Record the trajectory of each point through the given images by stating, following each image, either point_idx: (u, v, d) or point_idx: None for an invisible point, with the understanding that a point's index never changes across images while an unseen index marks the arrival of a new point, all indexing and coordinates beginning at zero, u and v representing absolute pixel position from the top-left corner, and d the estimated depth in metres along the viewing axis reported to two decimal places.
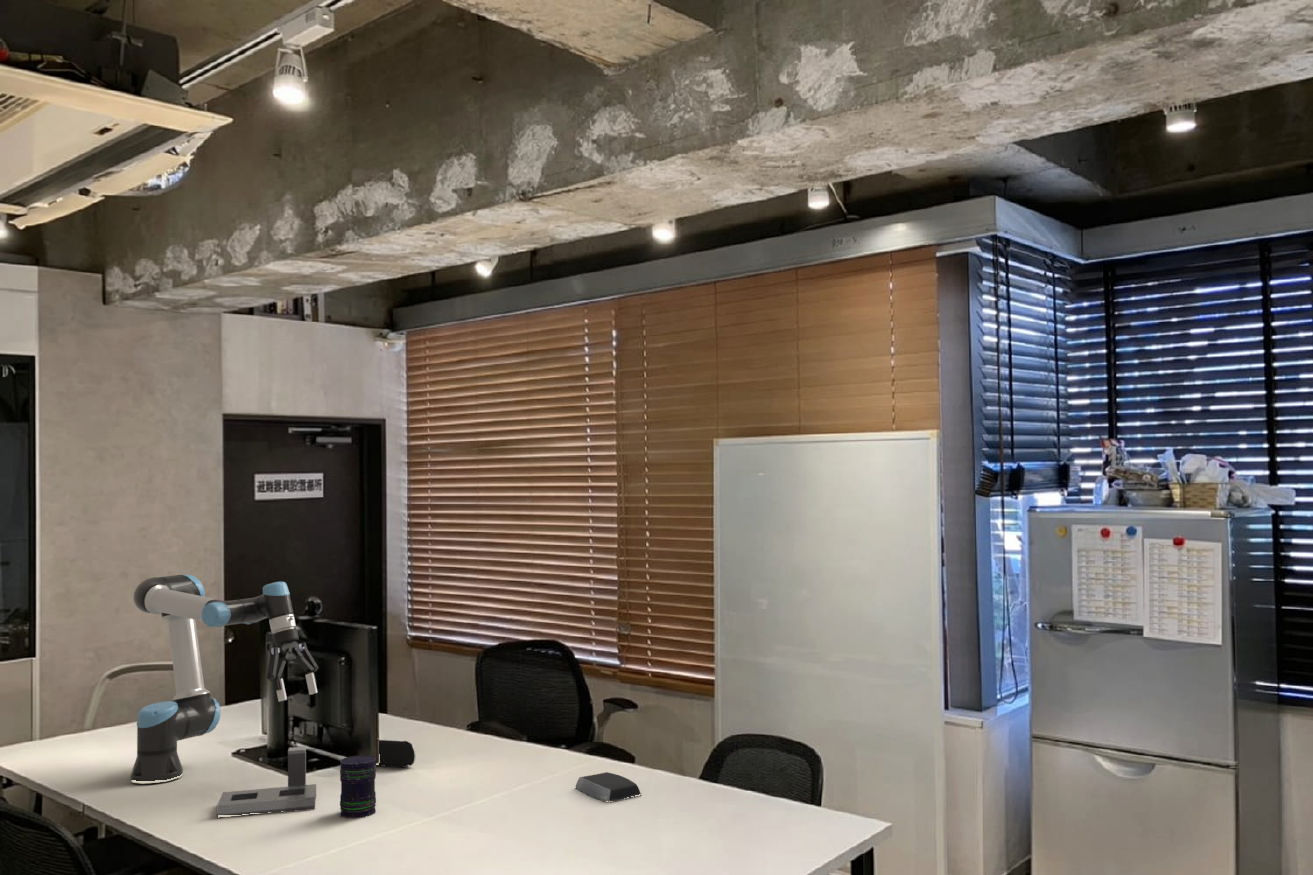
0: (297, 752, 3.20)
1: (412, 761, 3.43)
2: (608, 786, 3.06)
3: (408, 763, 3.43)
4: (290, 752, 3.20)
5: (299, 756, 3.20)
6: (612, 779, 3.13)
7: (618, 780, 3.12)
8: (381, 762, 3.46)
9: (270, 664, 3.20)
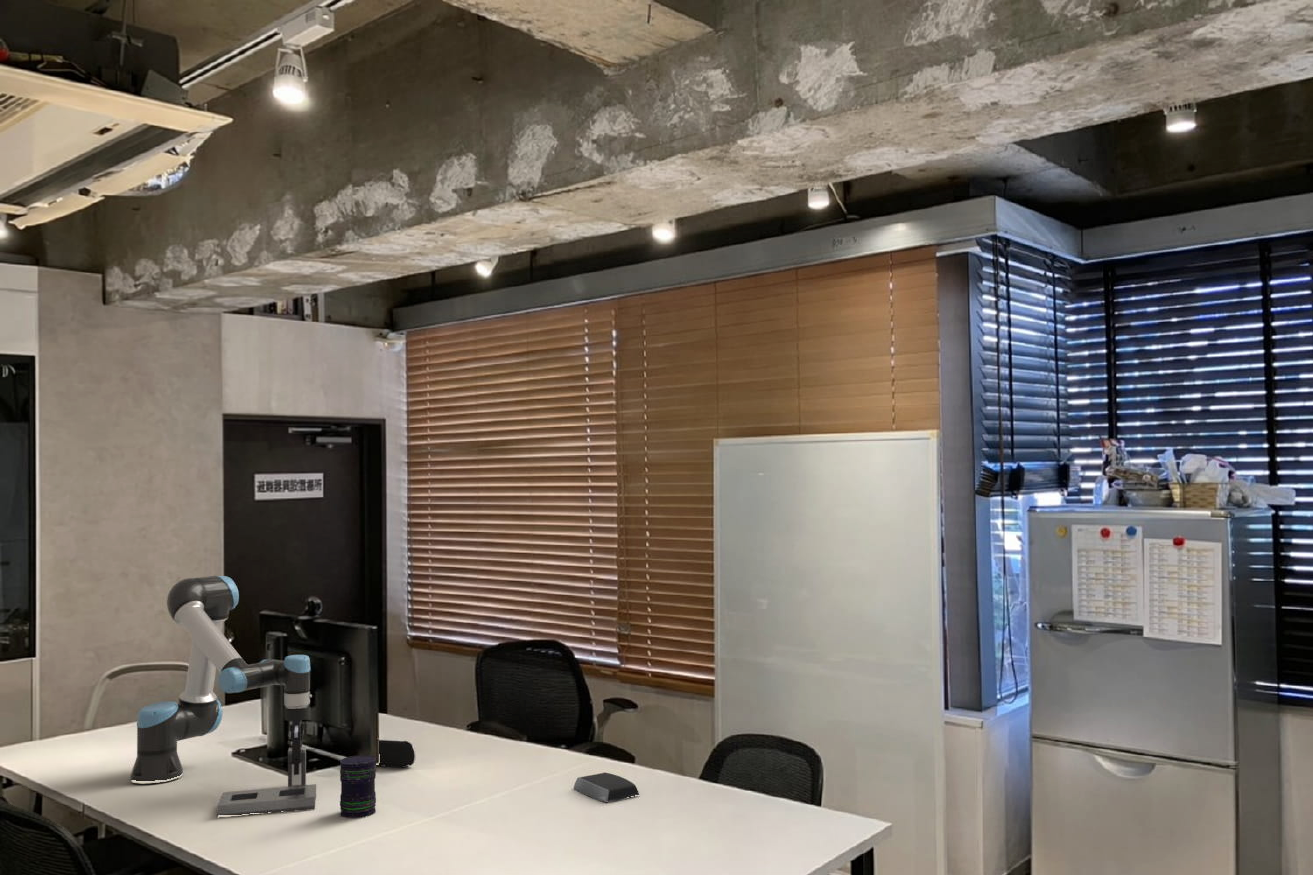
0: None
1: (412, 761, 3.43)
2: (607, 786, 3.05)
3: (408, 763, 3.43)
4: (290, 752, 3.20)
5: None
6: (610, 779, 3.13)
7: (616, 780, 3.12)
8: (381, 762, 3.46)
9: (294, 748, 3.17)
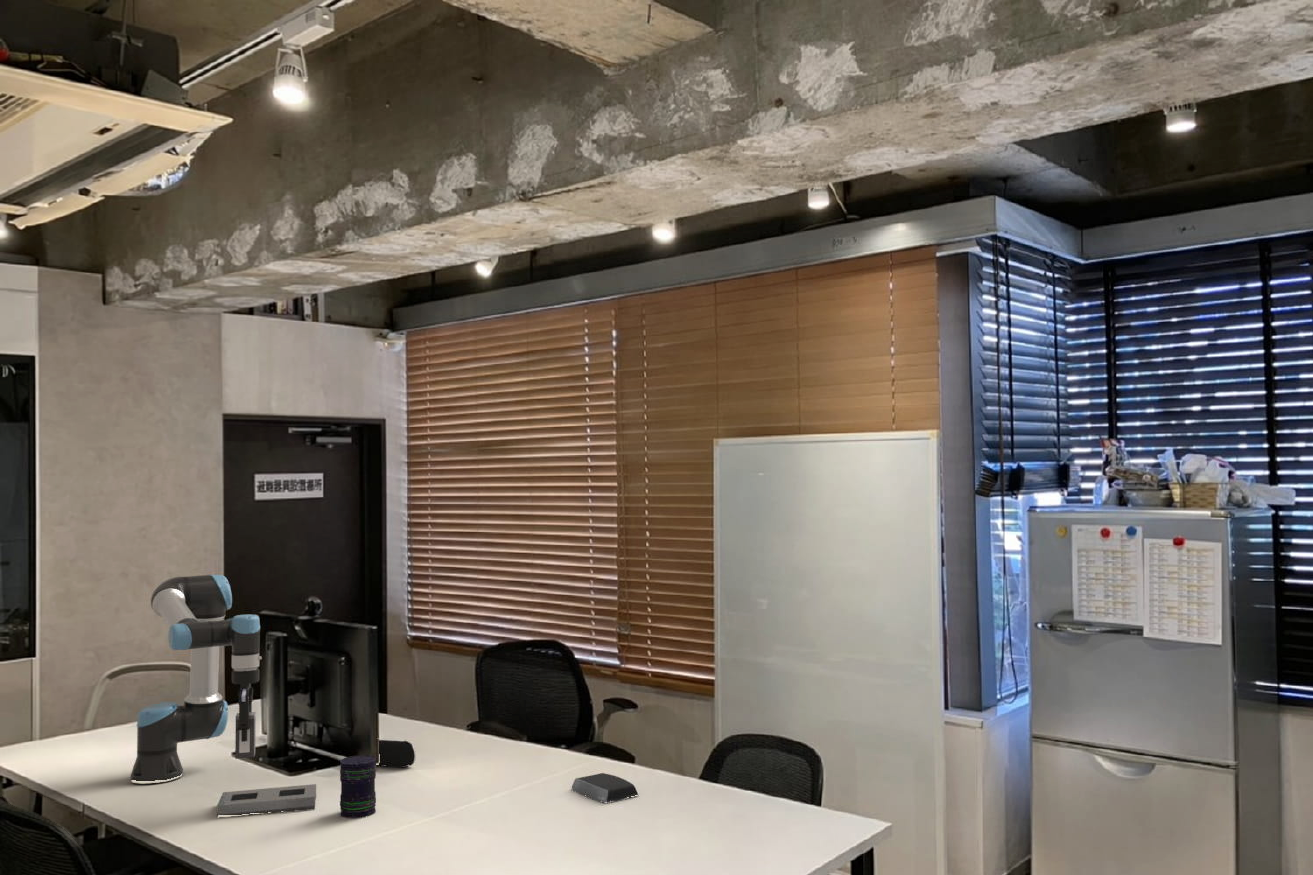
0: None
1: (412, 761, 3.43)
2: (606, 786, 3.05)
3: (408, 763, 3.43)
4: (238, 717, 3.00)
5: None
6: (609, 780, 3.12)
7: (615, 781, 3.11)
8: (381, 762, 3.46)
9: (242, 713, 2.97)
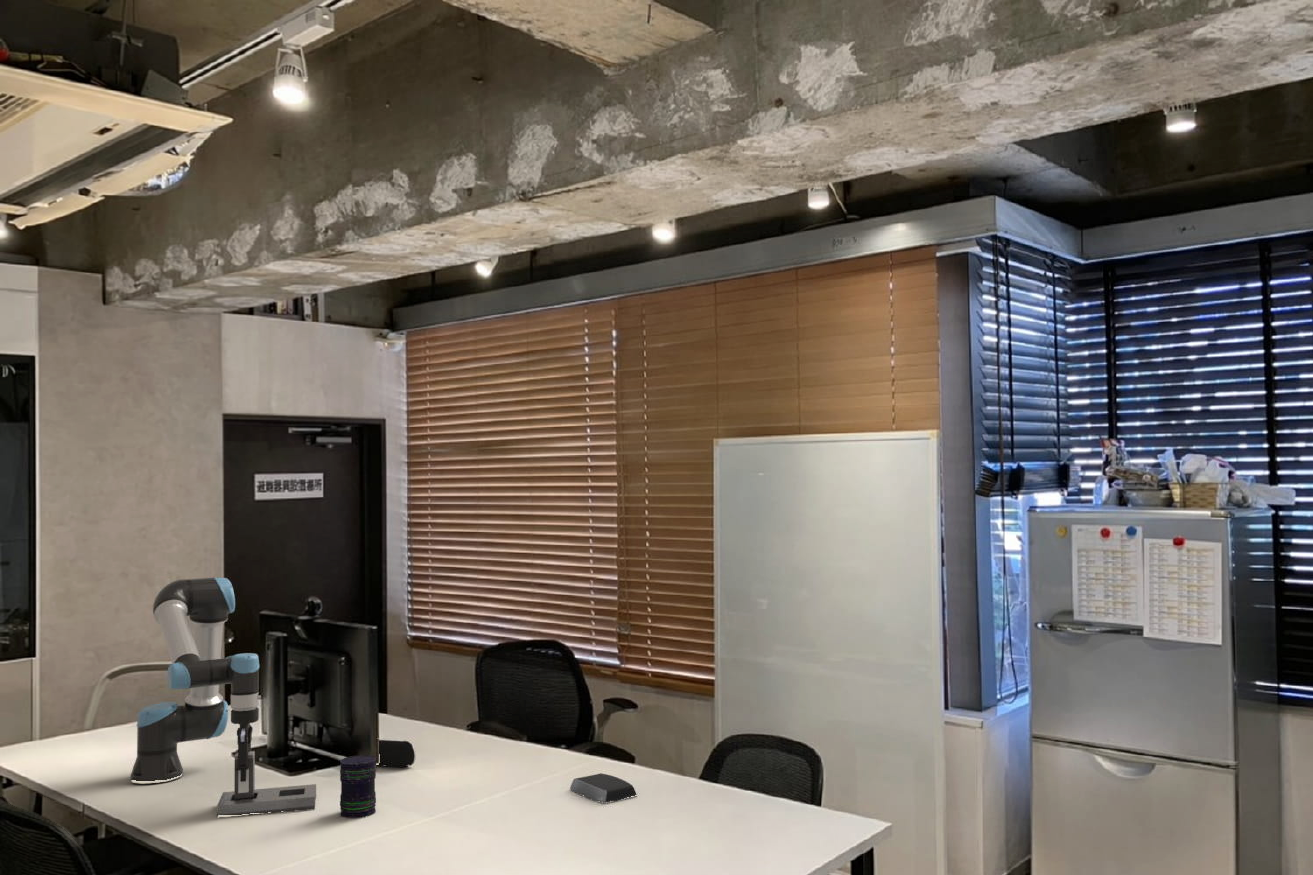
0: None
1: (412, 761, 3.43)
2: (604, 787, 3.05)
3: (408, 763, 3.43)
4: (237, 757, 2.99)
5: None
6: (607, 780, 3.12)
7: (613, 781, 3.11)
8: (381, 762, 3.46)
9: (240, 753, 2.96)
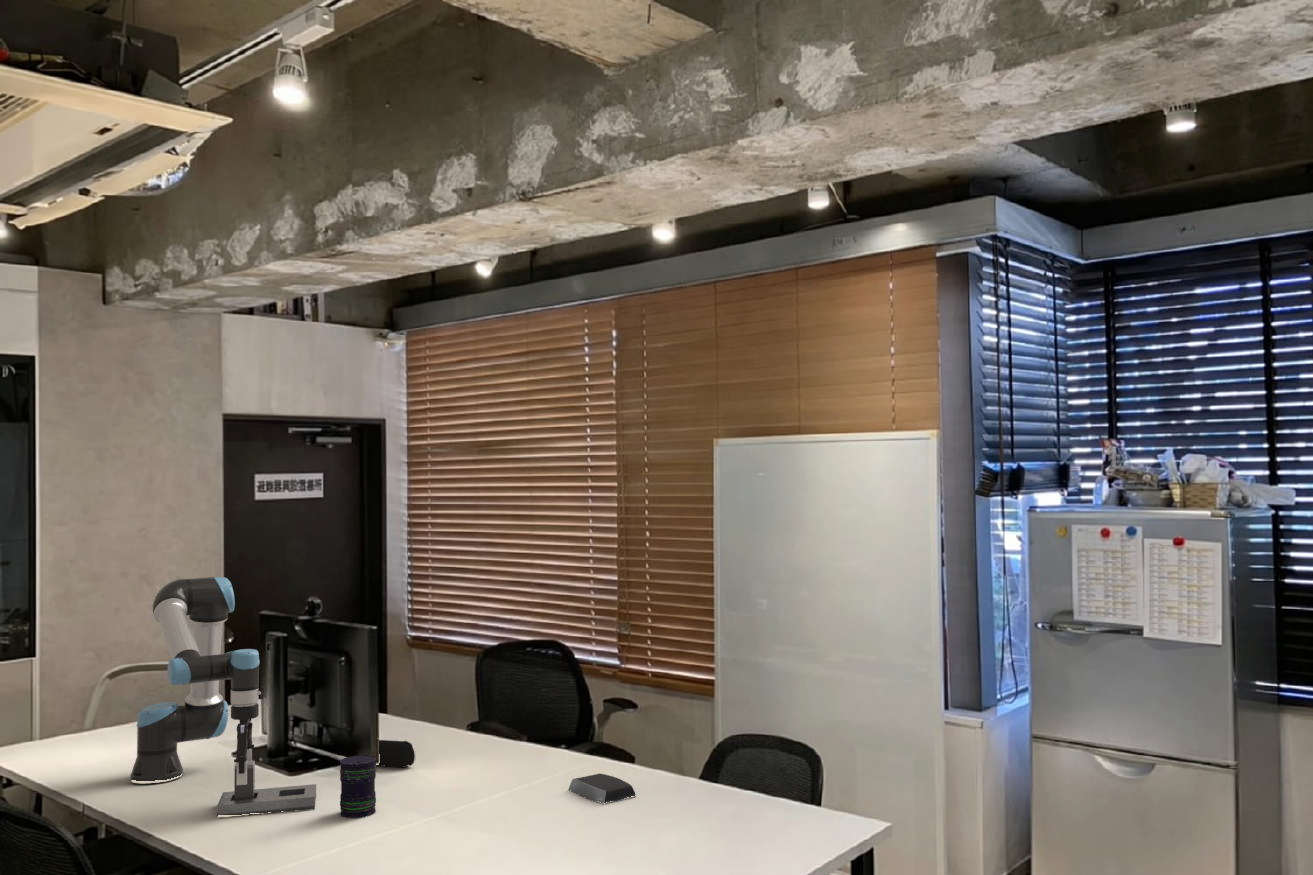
0: None
1: (412, 761, 3.43)
2: (603, 787, 3.05)
3: (408, 763, 3.43)
4: None
5: None
6: (606, 780, 3.12)
7: (612, 781, 3.11)
8: (381, 762, 3.46)
9: (240, 744, 2.94)
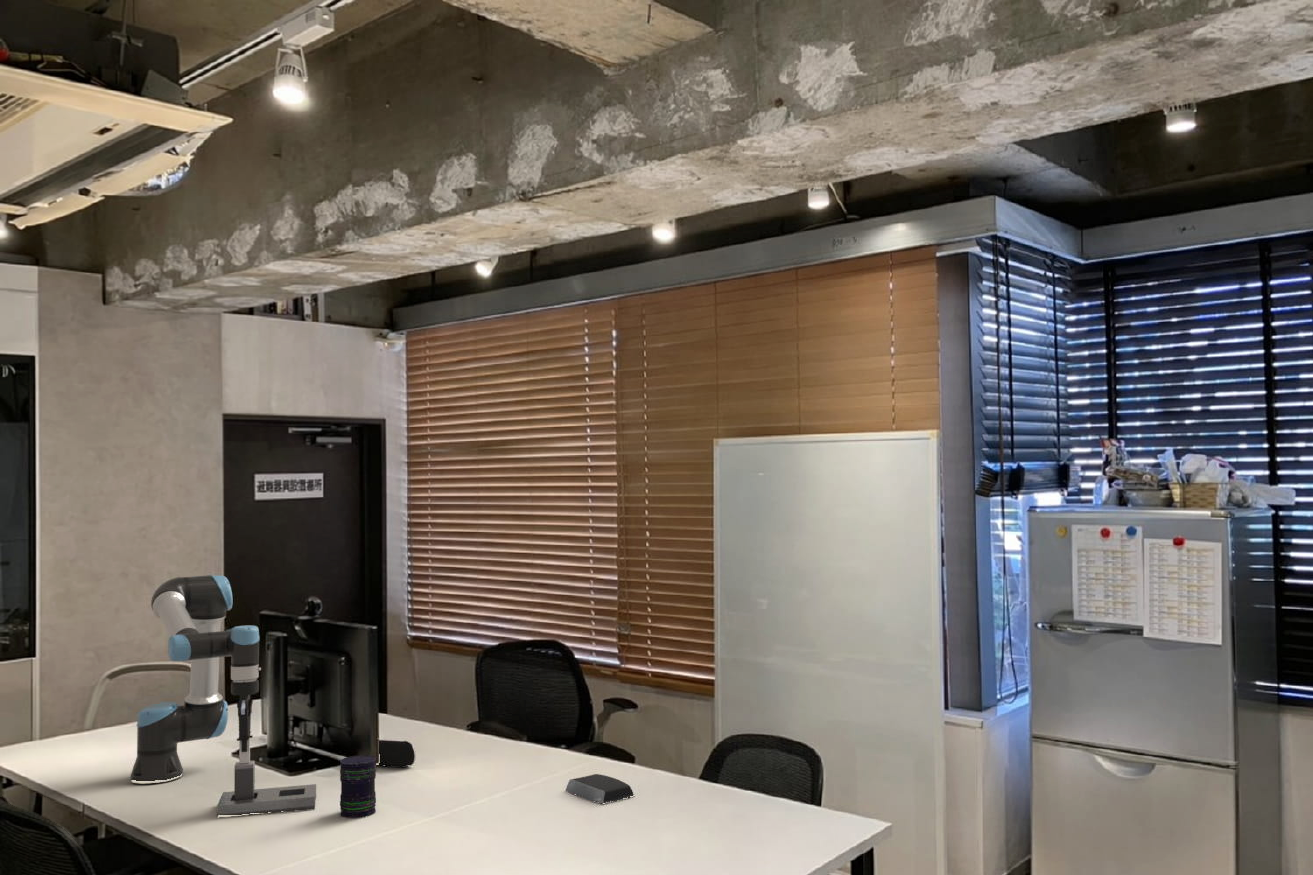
0: (244, 767, 2.99)
1: (412, 761, 3.43)
2: (602, 787, 3.04)
3: (408, 763, 3.43)
4: (237, 767, 2.99)
5: (246, 771, 2.99)
6: (604, 781, 3.12)
7: (610, 781, 3.11)
8: (381, 762, 3.46)
9: (241, 725, 2.98)
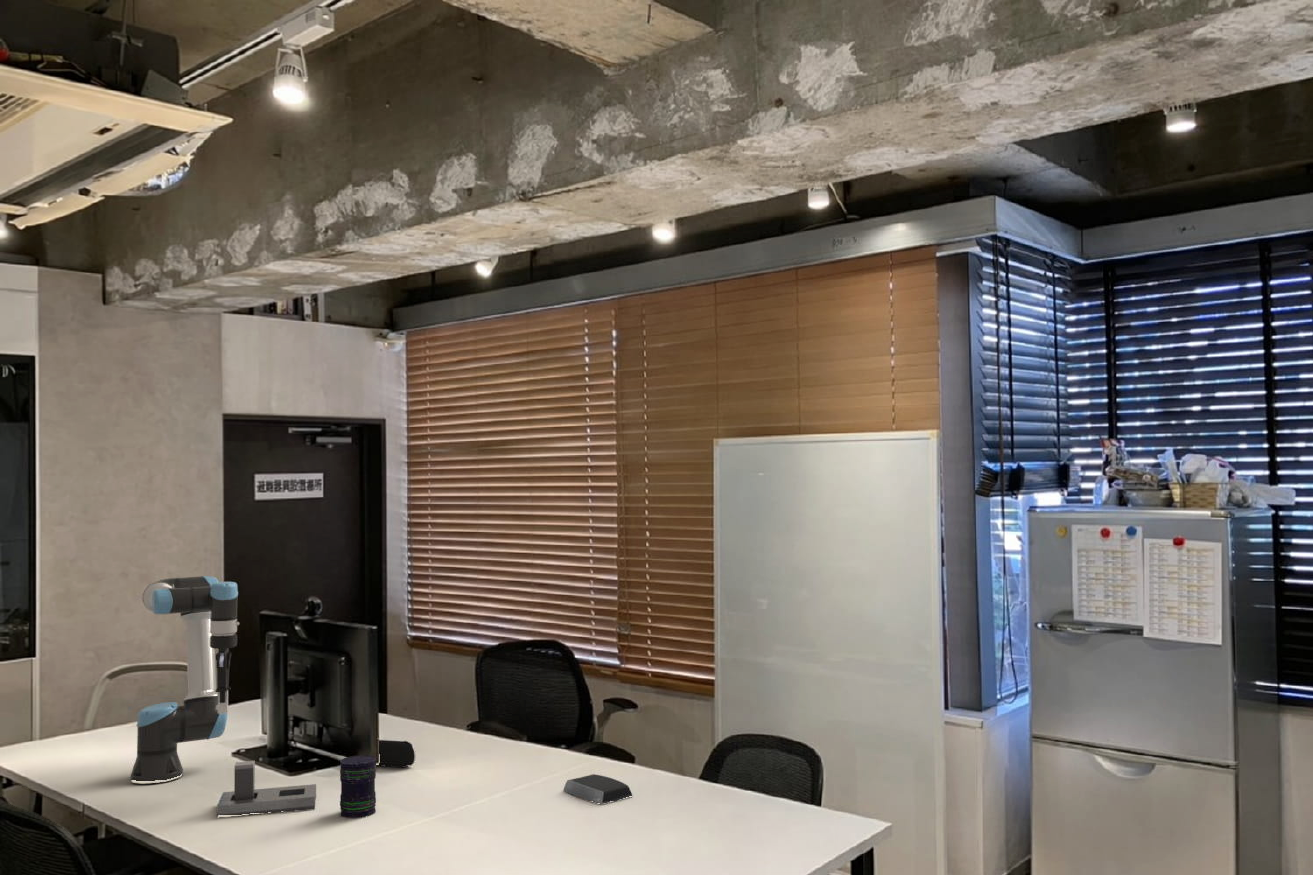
0: (244, 767, 2.99)
1: (412, 761, 3.43)
2: (600, 788, 3.04)
3: (408, 763, 3.43)
4: (237, 767, 2.99)
5: (246, 771, 2.99)
6: (602, 781, 3.11)
7: (608, 782, 3.10)
8: (381, 762, 3.46)
9: (220, 677, 3.09)
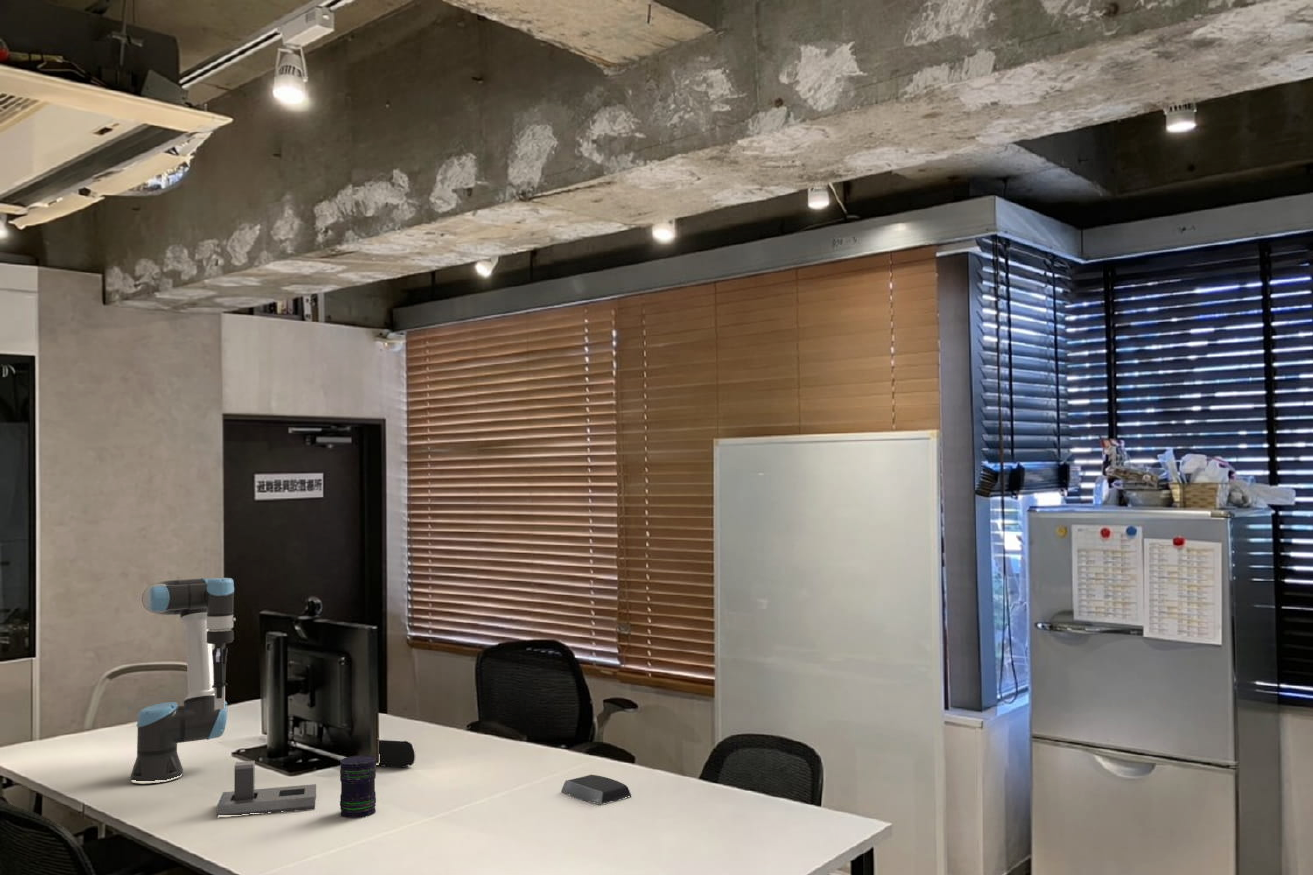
0: (244, 767, 2.99)
1: (412, 761, 3.43)
2: (599, 788, 3.04)
3: (408, 763, 3.43)
4: (237, 767, 2.99)
5: (246, 771, 2.99)
6: (600, 781, 3.11)
7: (606, 782, 3.10)
8: (381, 762, 3.46)
9: (216, 672, 3.10)
